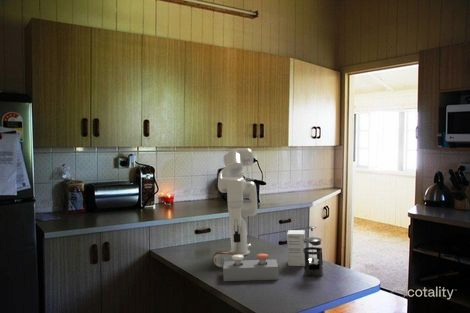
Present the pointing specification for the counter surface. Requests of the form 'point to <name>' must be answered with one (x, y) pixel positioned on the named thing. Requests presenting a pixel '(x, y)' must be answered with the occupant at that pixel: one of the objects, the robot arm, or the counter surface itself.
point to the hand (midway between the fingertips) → (237, 241)
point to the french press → (313, 269)
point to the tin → (222, 258)
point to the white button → (237, 259)
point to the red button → (262, 258)
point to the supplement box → (296, 247)
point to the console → (250, 270)
